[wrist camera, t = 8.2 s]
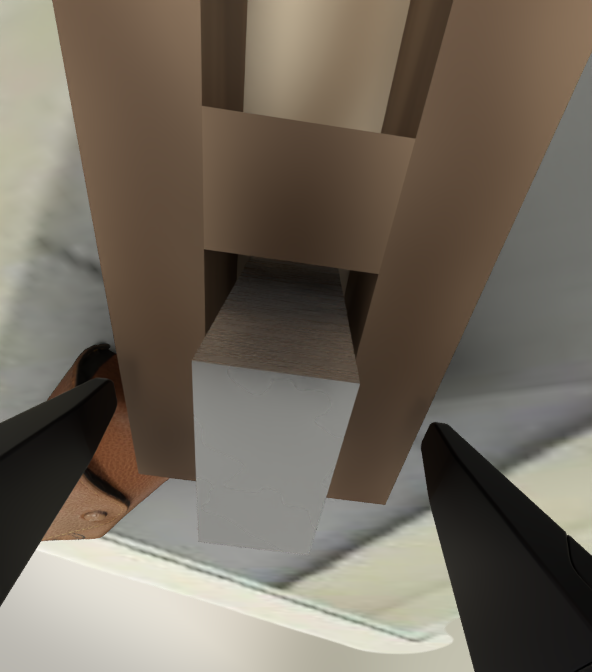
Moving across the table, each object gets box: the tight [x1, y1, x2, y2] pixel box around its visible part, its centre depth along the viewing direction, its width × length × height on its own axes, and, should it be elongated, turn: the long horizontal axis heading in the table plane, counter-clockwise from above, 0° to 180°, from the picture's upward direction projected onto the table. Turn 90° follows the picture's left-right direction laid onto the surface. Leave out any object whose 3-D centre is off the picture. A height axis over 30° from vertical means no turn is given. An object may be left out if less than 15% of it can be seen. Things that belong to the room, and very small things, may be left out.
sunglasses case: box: [41, 344, 169, 541], centre depth 20 cm, size 18×7×7 cm, turn 139°
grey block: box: [192, 256, 360, 555], centre depth 11 cm, size 3×6×8 cm, turn 172°
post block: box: [52, 0, 592, 505], centre depth 10 cm, size 10×22×5 cm, turn 172°
